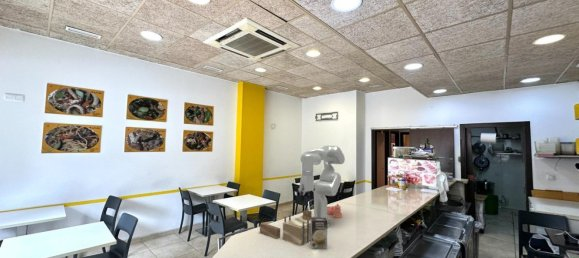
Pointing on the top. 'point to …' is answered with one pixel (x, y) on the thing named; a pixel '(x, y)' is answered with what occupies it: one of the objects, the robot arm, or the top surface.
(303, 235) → the open wooden box
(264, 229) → the plank
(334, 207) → the pink lumpy piece
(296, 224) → the lid
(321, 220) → the coffee box
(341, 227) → the top surface
